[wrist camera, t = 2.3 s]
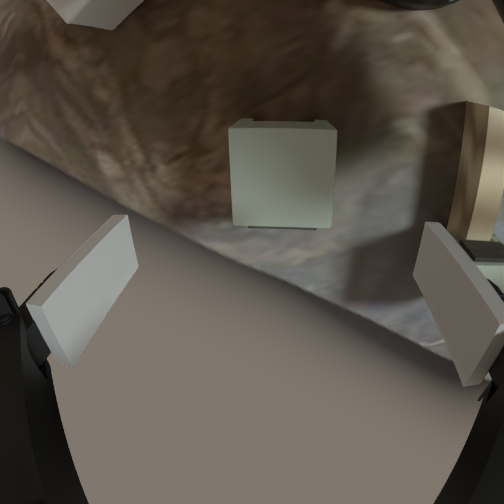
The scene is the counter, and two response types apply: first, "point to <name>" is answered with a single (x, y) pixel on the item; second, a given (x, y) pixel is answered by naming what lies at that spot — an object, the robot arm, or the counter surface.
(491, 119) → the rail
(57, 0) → the medicine bottle
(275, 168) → the block
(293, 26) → the counter surface
